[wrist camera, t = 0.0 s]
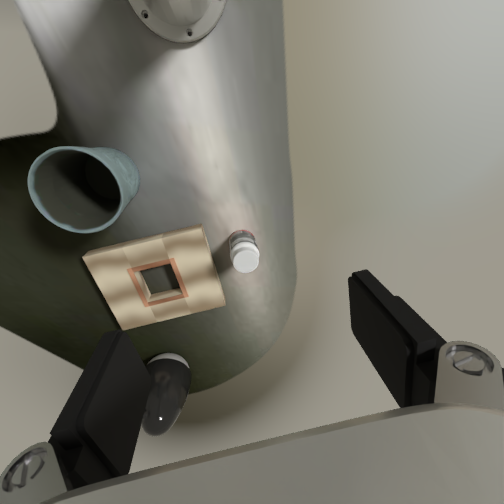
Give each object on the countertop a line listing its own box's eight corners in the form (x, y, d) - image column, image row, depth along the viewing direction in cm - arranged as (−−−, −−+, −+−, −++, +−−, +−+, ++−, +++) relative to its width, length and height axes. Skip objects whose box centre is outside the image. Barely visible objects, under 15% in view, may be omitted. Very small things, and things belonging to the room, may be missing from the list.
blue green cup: (76, 199, 44) (29, 224, 33) (76, 131, 40) (23, 135, 29) (143, 212, 46) (119, 240, 35) (149, 149, 42) (125, 159, 31)
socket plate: (88, 250, 47) (81, 257, 45) (201, 223, 47) (200, 228, 45) (126, 321, 54) (122, 330, 52) (225, 297, 55) (225, 305, 52)
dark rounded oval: (165, 336, 57) (149, 404, 43) (202, 361, 61) (198, 430, 47) (134, 364, 59) (108, 436, 46) (171, 385, 63) (159, 458, 50)
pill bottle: (252, 254, 51) (257, 277, 44) (226, 250, 50) (228, 273, 43) (257, 231, 49) (264, 250, 42) (231, 226, 48) (234, 246, 41)
